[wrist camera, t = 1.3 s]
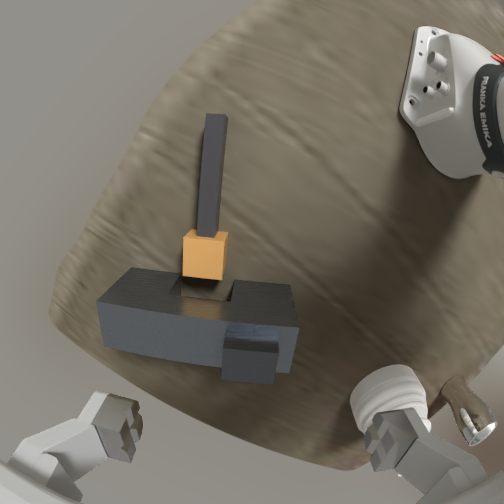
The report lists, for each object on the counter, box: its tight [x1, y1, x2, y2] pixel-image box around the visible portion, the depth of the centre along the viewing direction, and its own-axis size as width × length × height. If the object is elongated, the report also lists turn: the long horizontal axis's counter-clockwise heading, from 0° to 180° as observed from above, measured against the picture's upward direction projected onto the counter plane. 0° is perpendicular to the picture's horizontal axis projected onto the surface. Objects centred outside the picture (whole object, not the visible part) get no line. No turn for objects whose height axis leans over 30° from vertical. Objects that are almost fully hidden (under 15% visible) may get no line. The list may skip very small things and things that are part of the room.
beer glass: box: [441, 375, 497, 446], centre depth 36 cm, size 7×7×15 cm
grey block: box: [96, 267, 300, 385], centre depth 31 cm, size 6×21×13 cm, turn 84°
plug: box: [183, 114, 228, 280], centre depth 31 cm, size 18×4×4 cm, turn 174°
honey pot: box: [350, 364, 431, 476], centre depth 34 cm, size 13×13×18 cm
